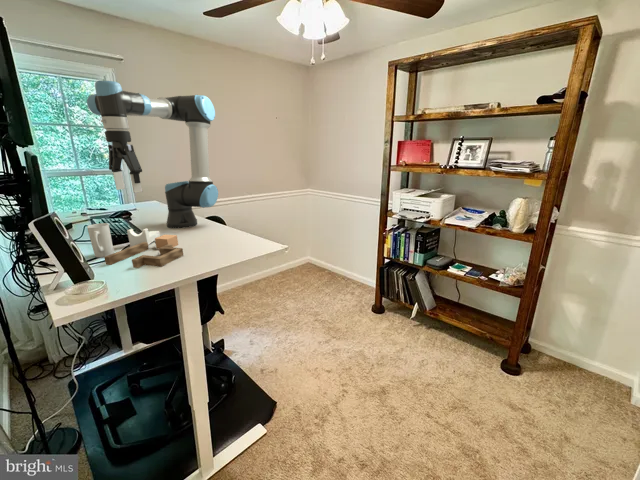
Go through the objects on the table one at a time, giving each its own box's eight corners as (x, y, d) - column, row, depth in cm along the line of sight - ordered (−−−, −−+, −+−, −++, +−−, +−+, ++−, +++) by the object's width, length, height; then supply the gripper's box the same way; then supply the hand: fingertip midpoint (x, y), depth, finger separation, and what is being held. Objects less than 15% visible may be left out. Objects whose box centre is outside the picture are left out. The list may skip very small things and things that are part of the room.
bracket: (148, 247, 129) (144, 230, 127) (130, 247, 128) (127, 230, 126) (160, 238, 141) (157, 222, 139) (144, 238, 141) (141, 223, 138)
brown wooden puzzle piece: (144, 248, 126) (143, 242, 125) (188, 252, 121) (187, 245, 120) (106, 264, 109) (104, 256, 108) (154, 270, 104) (153, 262, 103)
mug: (97, 253, 121) (90, 224, 117) (116, 251, 123) (110, 222, 120) (89, 261, 112) (81, 230, 109) (110, 259, 114) (103, 228, 111)
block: (166, 244, 132) (165, 234, 131) (178, 245, 131) (176, 235, 130) (156, 248, 127) (154, 238, 125) (168, 249, 125) (167, 239, 124)
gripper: (90, 130, 110) (103, 189, 116) (121, 129, 96) (134, 195, 103) (113, 131, 116) (124, 186, 122) (145, 129, 102) (156, 192, 109)
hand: (129, 190), depth 113 cm, fingers open, 13 cm apart
